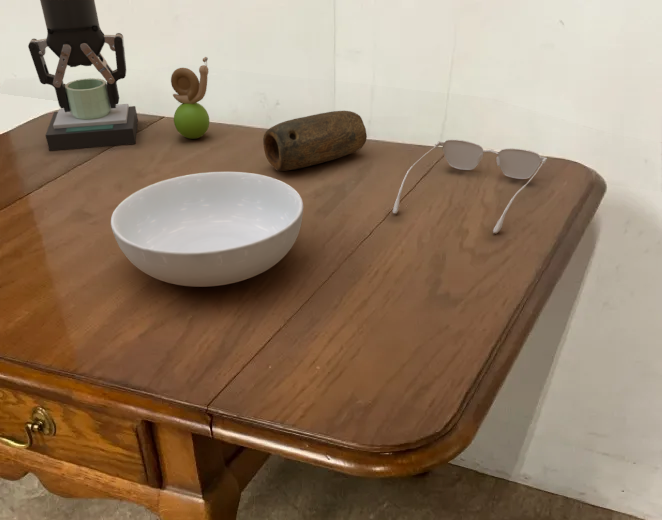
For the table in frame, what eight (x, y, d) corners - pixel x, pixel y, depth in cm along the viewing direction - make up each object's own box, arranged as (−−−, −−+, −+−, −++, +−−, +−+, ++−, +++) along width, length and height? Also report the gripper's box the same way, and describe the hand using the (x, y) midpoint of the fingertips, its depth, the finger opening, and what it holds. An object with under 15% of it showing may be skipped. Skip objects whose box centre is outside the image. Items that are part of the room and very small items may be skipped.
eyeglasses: (544, 182, 104) (548, 152, 102) (503, 237, 92) (507, 205, 89) (437, 164, 110) (438, 136, 107) (385, 214, 97) (386, 183, 95)
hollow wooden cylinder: (290, 183, 106) (287, 134, 102) (260, 168, 110) (257, 121, 106) (371, 155, 113) (372, 108, 109) (341, 143, 117) (340, 97, 113)
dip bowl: (69, 121, 119) (62, 91, 116) (73, 109, 124) (67, 79, 121) (110, 118, 120) (104, 88, 117) (112, 106, 124) (107, 77, 122)
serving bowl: (192, 211, 99) (185, 159, 95) (337, 243, 91) (336, 188, 87) (82, 285, 85) (67, 227, 81) (242, 330, 77) (235, 269, 73)
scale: (49, 150, 118) (44, 131, 116) (57, 126, 126) (53, 108, 124) (135, 143, 119) (131, 124, 117) (137, 120, 128) (134, 102, 126)
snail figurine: (210, 145, 118) (200, 62, 110) (171, 142, 119) (158, 60, 112) (222, 133, 122) (213, 52, 115) (184, 130, 123) (173, 50, 116)
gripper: (117, -18, 114) (137, 98, 125) (18, -12, 113) (46, 104, 123) (114, -7, 109) (136, 113, 119) (9, -1, 107) (40, 120, 117)
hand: (90, 108), depth 121 cm, fingers open, 6 cm apart
